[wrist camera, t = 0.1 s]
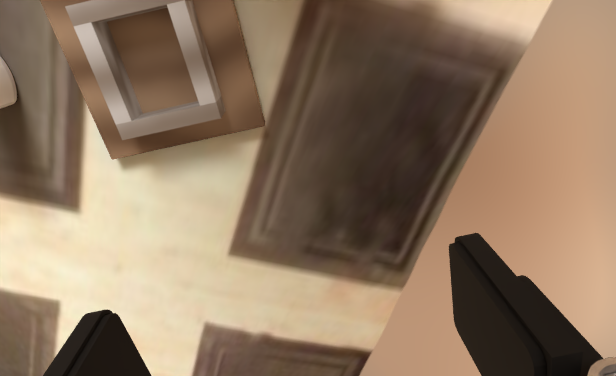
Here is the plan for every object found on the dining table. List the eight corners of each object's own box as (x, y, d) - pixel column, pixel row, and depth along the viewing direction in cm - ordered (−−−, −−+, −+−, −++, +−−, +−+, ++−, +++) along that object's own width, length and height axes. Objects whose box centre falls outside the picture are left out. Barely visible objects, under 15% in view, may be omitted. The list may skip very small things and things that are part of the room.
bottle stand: (43, -12, 34) (10, -16, 30) (218, -54, 33) (209, -64, 29) (117, 154, 41) (98, 170, 37) (264, 122, 40) (262, 134, 36)
